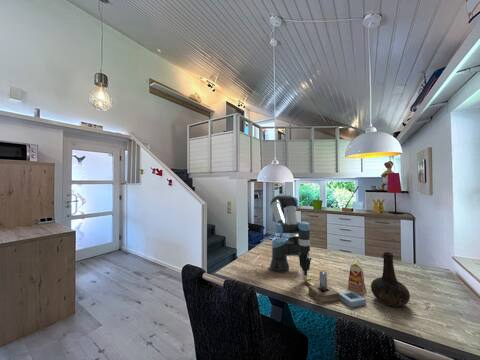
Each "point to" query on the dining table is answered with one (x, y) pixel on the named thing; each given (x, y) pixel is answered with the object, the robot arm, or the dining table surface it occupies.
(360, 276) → the milk carton
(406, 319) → the dining table surface
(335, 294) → the socket block
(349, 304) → the square frame
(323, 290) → the grey round-ended peg
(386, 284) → the glass bottle
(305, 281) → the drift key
